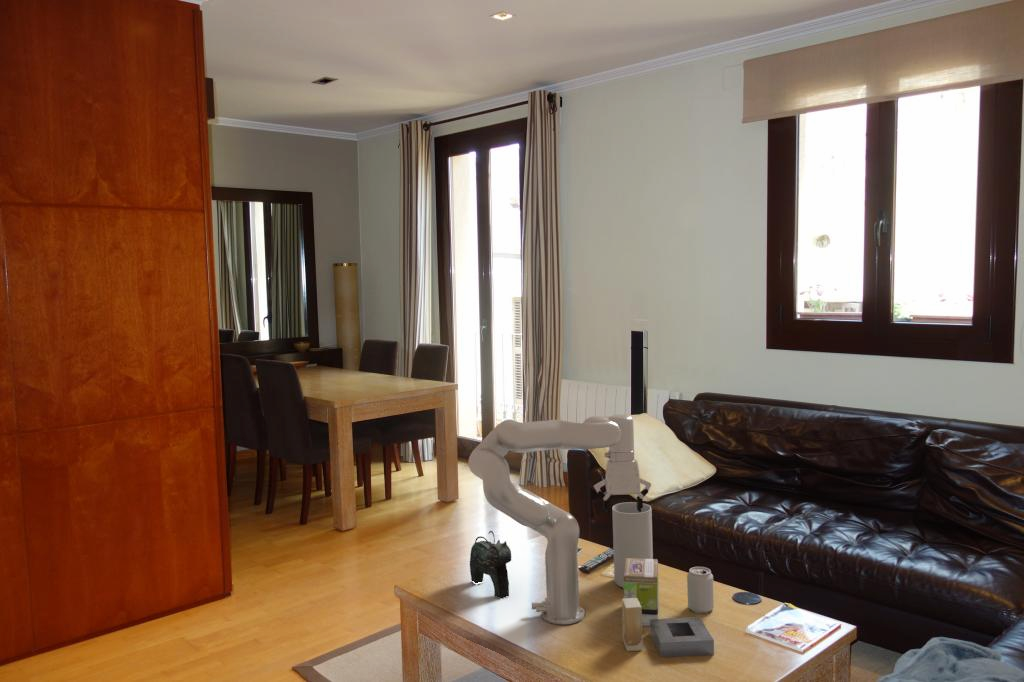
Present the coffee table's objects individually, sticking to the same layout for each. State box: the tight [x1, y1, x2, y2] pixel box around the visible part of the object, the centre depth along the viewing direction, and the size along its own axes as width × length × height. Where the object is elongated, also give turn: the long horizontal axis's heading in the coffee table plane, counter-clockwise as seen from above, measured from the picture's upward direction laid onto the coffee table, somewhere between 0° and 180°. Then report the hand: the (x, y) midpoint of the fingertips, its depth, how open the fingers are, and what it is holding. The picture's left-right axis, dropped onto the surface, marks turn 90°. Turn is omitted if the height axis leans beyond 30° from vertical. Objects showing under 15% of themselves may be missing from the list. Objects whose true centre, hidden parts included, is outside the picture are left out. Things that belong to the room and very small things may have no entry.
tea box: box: [623, 558, 660, 627], centre depth 230 cm, size 15×10×15 cm, turn 170°
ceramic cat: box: [469, 530, 512, 599], centre depth 253 cm, size 20×6×20 cm, turn 34°
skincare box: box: [621, 598, 643, 652], centre depth 211 cm, size 6×4×12 cm
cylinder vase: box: [612, 501, 654, 589], centre depth 254 cm, size 12×12×25 cm
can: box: [686, 566, 715, 614], centre depth 233 cm, size 8×8×12 cm
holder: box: [649, 616, 715, 658], centre depth 212 cm, size 14×14×4 cm
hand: (623, 511), depth 238 cm, fingers open, 9 cm apart
